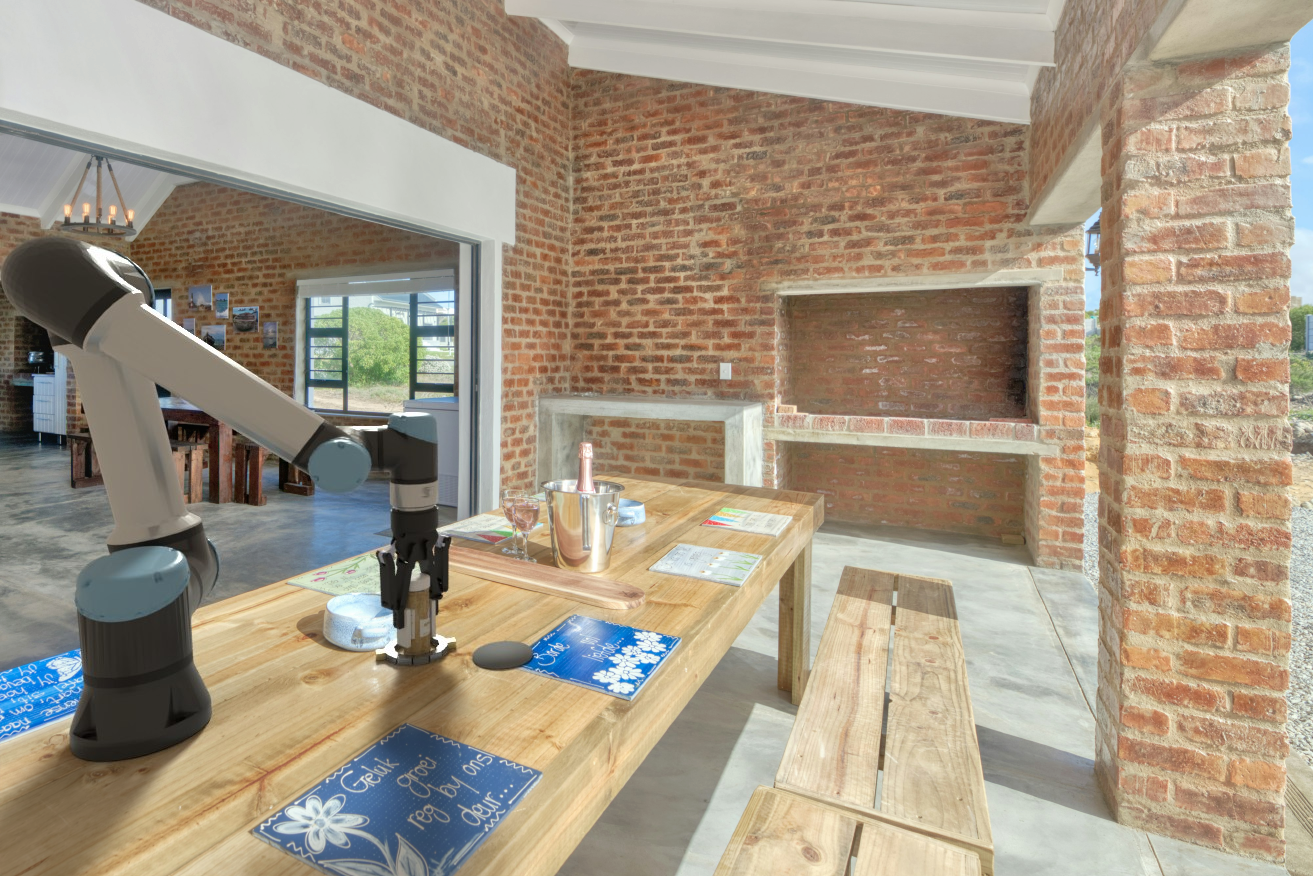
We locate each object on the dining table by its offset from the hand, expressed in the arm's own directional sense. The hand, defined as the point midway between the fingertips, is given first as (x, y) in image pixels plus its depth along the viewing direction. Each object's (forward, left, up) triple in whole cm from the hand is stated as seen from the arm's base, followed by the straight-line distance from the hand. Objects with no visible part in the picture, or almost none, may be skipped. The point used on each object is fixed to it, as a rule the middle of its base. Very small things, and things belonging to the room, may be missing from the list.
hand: (416, 639), depth 116 cm
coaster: (+13, -7, -2) cm, 15 cm away
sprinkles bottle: (0, 0, -2) cm, 2 cm away
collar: (0, 0, -2) cm, 2 cm away
